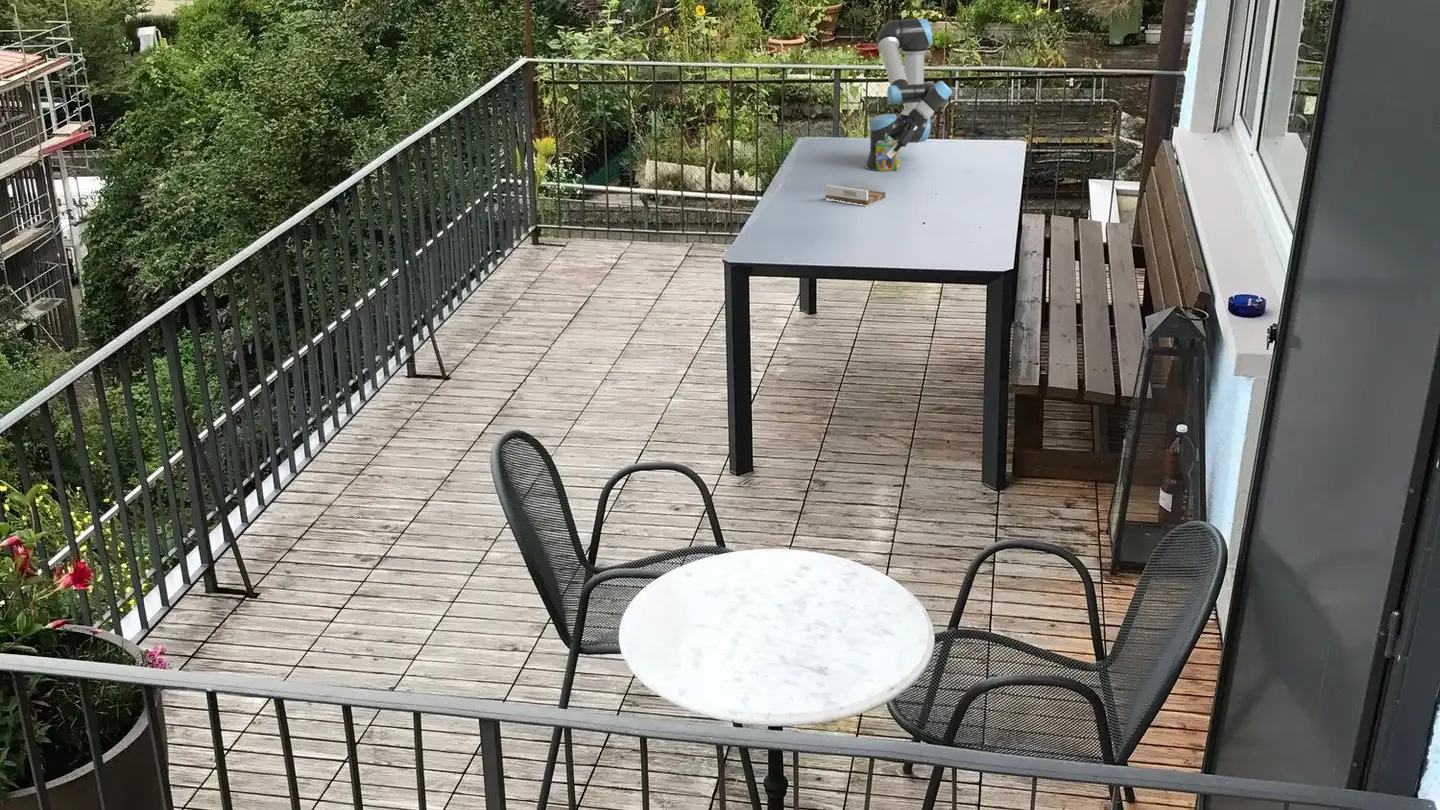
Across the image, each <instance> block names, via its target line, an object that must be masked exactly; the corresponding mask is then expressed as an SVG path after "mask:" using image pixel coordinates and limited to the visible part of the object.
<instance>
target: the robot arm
mask: <svg viewBox="0 0 1440 810" xmlns="http://www.w3.org/2000/svg"><path fill="white" fill-rule="evenodd" d="M932 32H933V31H932V27H931V25H930V22H929V20H927V18H908V19H893V20H889V21H887V22H886V23H885V24H884V25H883V26H882V27H881V29H880V30H879V32H878V34H877V36H876V48H877V51H878V53H880V54H881V56H882V60H883V64H884V69H885V71H886V72H885V73H886V76H887V79H888V82H889V86H887V92H886V96H887V102H888V103H889V104H891V105H892V104H893V105H895V104H896V105H901V104H903V110H902V111H900V116H897V115H896V114H895V113H883V114H880V115H877V116H874V117H873V118H872V119H871V120H870V127H869V131H870V132H869V133H870V136H869V137H870V144H869V145H870V148H869V149H870V150H869V153H868V157H867V160H866V165H865V166H867V167H868V168H870V169H874V170H873V171H875V170H876V148H875V145H876V143H877V142H878V141H879V140H885V134H886V133H887V136H888V139H889V140H899V141H897V143H896V144H895V145H894V146H893V147H892V148H891V149H890V150H889V151H888V152H887V154H886V155H887V156H888V157H889V158H890V159H891V158H892V157H893V156H894V155H895V154H896V153H897V152H898V151H899V149H900V150H901V148H903V147H904V148H905V147H906V146H907V145H908V144H909V143H912V144H913V143H916V144H917V143H923V142H926V141H927V140H928V138H929V136H930V133H931V127H932V125H931V123H932V120H931V117H933V116H934V113H936V112H937V110H938V109H939V108H940V107H941V106H943V104H944V103H945V102H946V101H947V100H948V99H949V98H950V97H951V95H952V94H953V90H952V89H951V88H950V87H949V86H948V85H947V84H946V83H945V82H944V81H943V80H939V81H937V83H934V82H933V81H932V82H931V81H927V82H925V54H927V52H928V50H929V47H931V46H932V43H933V33H932ZM899 48H901V50H899ZM900 51H901V53H903V54H904V63H903V59H902V56H901V54H900ZM886 139H887V137H886ZM867 167H866V168H867ZM868 168H867V169H868ZM870 169H869V170H870Z"/></svg>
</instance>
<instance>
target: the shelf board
mask: <svg viewBox="0 0 1440 810" xmlns="http://www.w3.org/2000/svg"><path fill="white" fill-rule="evenodd" d="M824 191H825V199H826V198H829V199H834V200H839V201H840V200H841V201H845V202H851V203H857V204H863V205H869V204H871V203H873V202H875V201H878V200H880V201H882V200H881V199H883V198H885V199H886V192H885V191H878V190H872V189H871V190H870V189H863V188H857V187H856V188H855V187H849V186H848V187H847V186H839V185H831V184H826V185H825V190H824ZM883 200H884V199H883ZM878 202H879V201H878ZM871 205H872V204H871ZM869 206H870V205H869Z"/></svg>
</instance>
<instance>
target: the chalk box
mask: <svg viewBox="0 0 1440 810" xmlns="http://www.w3.org/2000/svg"><path fill="white" fill-rule="evenodd" d="M886 137H887V139H886ZM897 141H899V140H889V139H888V136H887V133H886V134H885V140H879V141H878V142H877V143H876V145H875V148H876V171H875V172H897V171H898V170H899V168H900V167H901V148H900V149H899V151H898V152H897V153H896V154H895V155H894V156H893V157H892V158H891V159H890V158H889V157H888V156H887V155H886V154H887V152H888V151H889V150H890V149H891V148H892V147H893V146H894V145H895V144H896V143H897Z"/></svg>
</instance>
